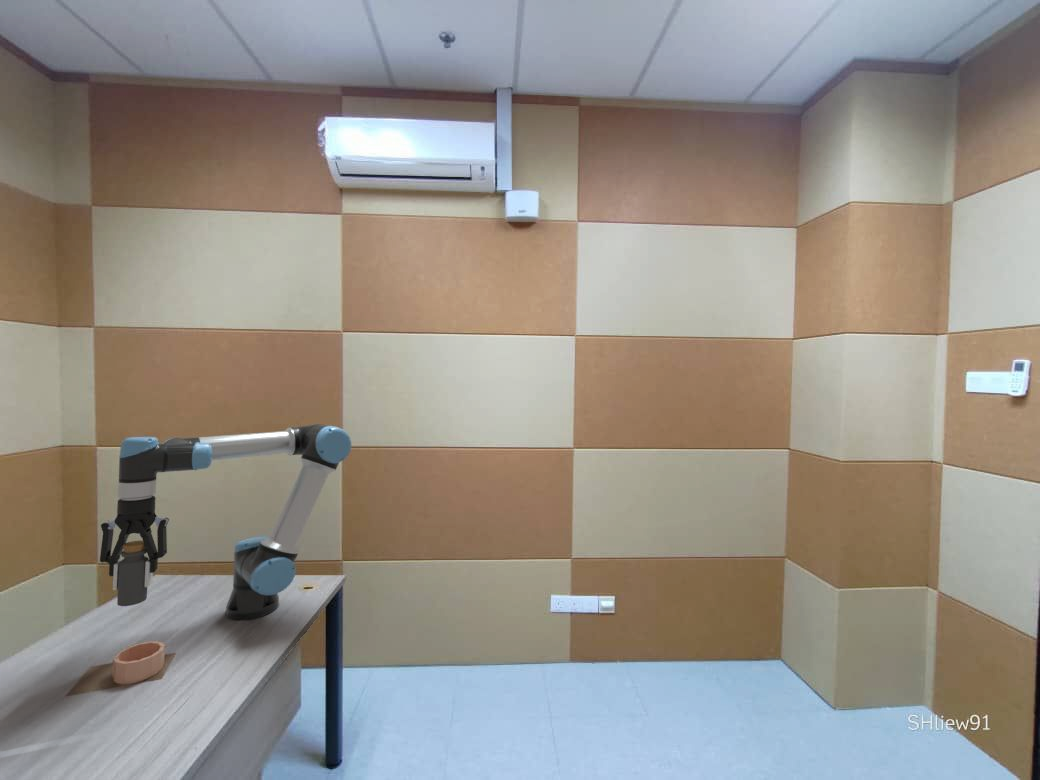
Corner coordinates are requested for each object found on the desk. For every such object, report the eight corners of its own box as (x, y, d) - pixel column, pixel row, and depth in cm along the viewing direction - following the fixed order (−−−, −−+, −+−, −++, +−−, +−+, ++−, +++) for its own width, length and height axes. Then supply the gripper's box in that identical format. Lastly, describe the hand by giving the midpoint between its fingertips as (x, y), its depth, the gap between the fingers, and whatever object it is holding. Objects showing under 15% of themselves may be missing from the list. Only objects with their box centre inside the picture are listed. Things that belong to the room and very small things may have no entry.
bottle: (128, 608, 113) (131, 548, 113) (111, 604, 114) (113, 545, 114) (152, 598, 118) (155, 541, 119) (135, 594, 120) (138, 538, 120)
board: (176, 656, 121) (176, 652, 122) (161, 682, 110) (161, 678, 110) (90, 670, 114) (90, 666, 114) (65, 700, 103) (65, 696, 103)
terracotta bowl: (168, 657, 119) (169, 638, 119) (156, 679, 110) (156, 658, 110) (122, 665, 115) (123, 645, 115) (105, 688, 106) (106, 666, 106)
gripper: (185, 492, 123) (181, 576, 123) (98, 495, 117) (94, 584, 116) (175, 498, 116) (171, 588, 116) (82, 502, 110) (78, 597, 109)
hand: (132, 586), depth 116 cm, fingers closed on bottle, 6 cm apart
